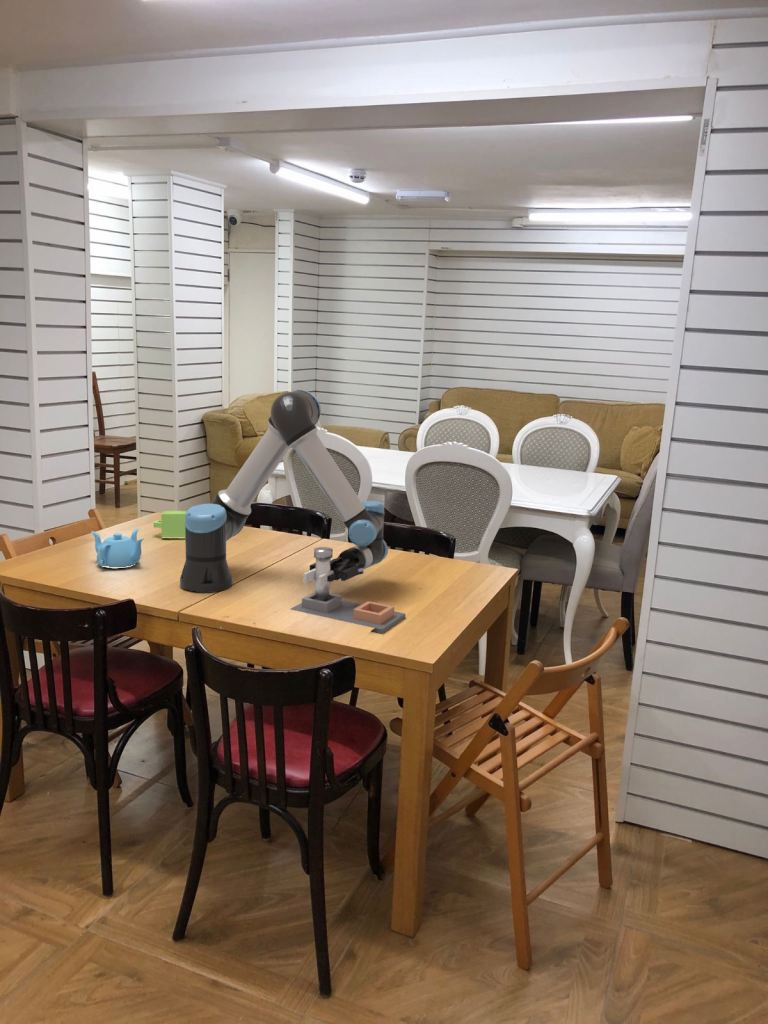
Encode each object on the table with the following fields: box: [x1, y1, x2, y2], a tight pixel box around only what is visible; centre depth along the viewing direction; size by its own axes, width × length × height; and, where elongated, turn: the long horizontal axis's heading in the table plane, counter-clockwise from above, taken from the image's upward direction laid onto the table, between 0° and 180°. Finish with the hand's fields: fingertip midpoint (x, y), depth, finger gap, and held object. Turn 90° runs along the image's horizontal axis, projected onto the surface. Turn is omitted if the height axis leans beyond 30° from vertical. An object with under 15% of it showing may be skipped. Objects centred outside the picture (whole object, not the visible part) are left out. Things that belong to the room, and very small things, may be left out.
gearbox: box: [153, 510, 187, 538], centre depth 284 cm, size 18×10×10 cm, turn 103°
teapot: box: [90, 528, 144, 567], centre depth 246 cm, size 15×15×10 cm
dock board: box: [290, 591, 406, 635], centre depth 210 cm, size 28×14×4 cm, turn 63°
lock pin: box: [313, 546, 334, 602], centre depth 212 cm, size 5×5×16 cm
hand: (312, 579), depth 207 cm, fingers closed on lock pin, 4 cm apart
